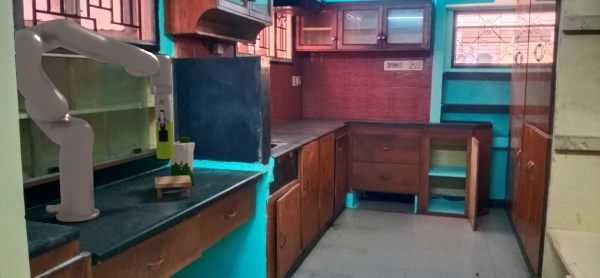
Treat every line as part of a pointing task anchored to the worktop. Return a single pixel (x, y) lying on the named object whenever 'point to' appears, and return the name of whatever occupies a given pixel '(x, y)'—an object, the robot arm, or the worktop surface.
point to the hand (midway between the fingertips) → (163, 139)
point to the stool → (173, 184)
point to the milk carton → (183, 159)
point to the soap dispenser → (165, 148)
